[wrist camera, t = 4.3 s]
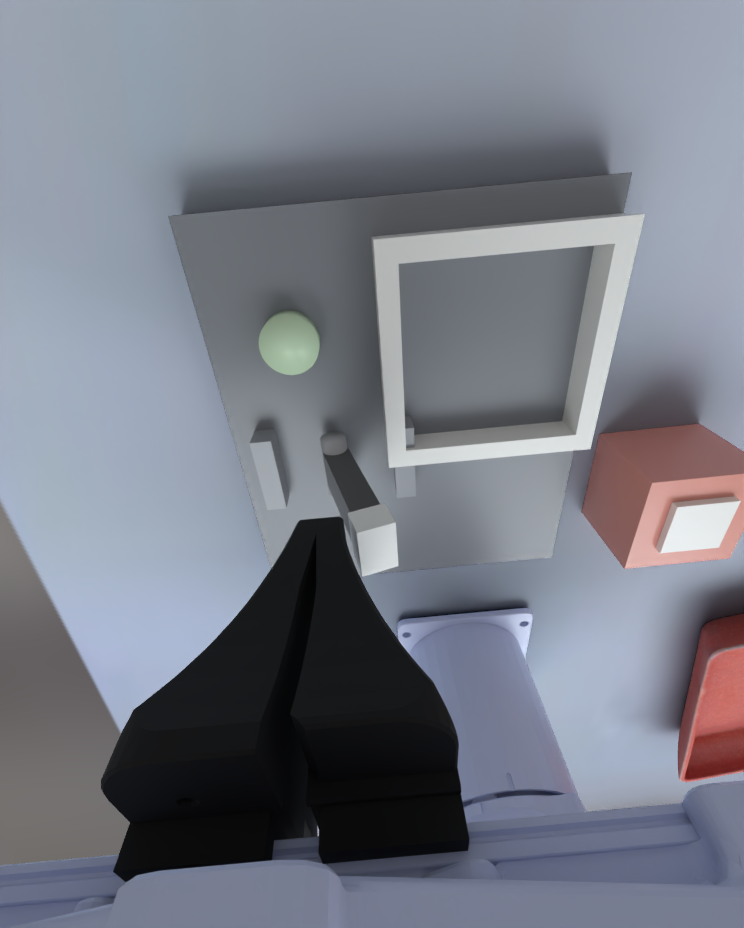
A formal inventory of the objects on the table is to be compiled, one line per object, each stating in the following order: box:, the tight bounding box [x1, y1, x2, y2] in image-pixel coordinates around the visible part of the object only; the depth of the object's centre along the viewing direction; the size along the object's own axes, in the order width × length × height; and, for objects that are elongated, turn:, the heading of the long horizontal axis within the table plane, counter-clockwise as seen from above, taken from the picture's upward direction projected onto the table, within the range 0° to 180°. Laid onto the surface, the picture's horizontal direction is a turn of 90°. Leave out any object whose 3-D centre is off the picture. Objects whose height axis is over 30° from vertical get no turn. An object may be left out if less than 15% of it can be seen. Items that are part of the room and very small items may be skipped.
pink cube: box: [582, 424, 744, 569], centre depth 18 cm, size 4×4×4 cm
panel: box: [168, 172, 645, 575], centre depth 17 cm, size 16×14×2 cm
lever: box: [320, 431, 398, 577], centre depth 15 cm, size 3×1×6 cm, turn 5°
